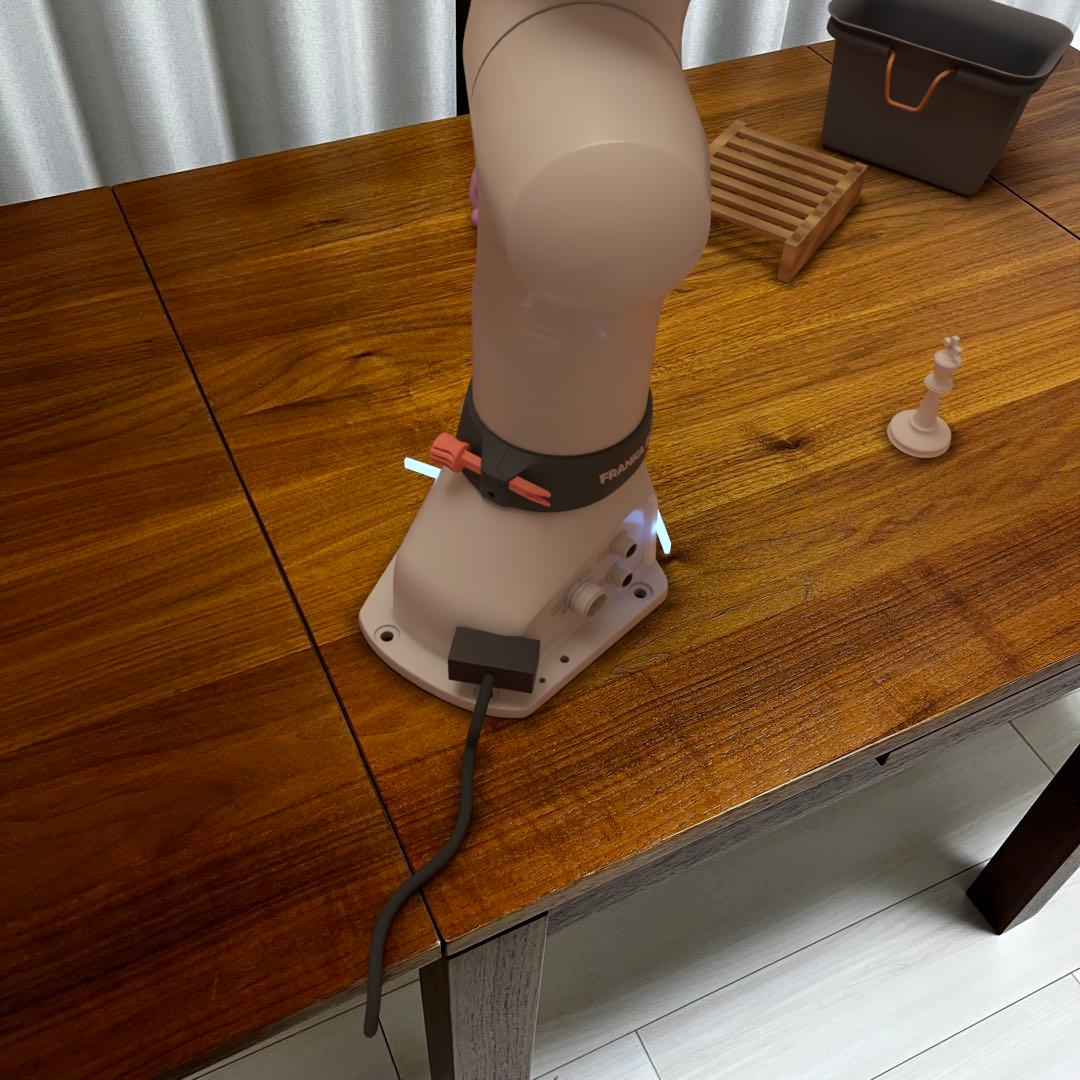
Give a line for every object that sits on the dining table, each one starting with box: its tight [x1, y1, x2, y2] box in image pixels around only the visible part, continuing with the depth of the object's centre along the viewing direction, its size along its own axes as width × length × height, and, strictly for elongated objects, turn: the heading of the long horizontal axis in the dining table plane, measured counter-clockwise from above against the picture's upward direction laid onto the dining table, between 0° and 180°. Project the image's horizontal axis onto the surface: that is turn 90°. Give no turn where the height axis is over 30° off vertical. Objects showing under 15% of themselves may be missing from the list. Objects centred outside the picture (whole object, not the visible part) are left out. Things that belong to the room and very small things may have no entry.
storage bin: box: [820, 0, 1075, 196], centre depth 116 cm, size 21×16×14 cm
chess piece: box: [886, 334, 964, 459], centre depth 91 cm, size 5×5×10 cm
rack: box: [708, 119, 869, 284], centre depth 112 cm, size 16×14×4 cm
